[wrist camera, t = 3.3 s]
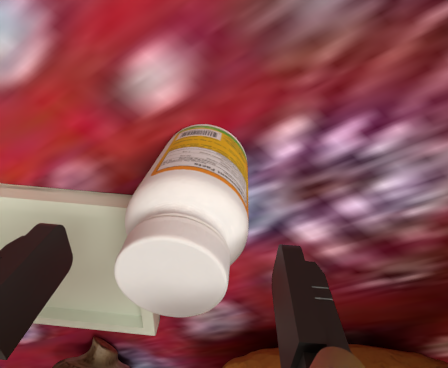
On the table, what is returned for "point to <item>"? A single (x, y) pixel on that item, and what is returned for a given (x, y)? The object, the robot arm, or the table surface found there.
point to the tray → (79, 255)
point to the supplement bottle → (186, 224)
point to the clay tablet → (369, 356)
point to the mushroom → (94, 357)
